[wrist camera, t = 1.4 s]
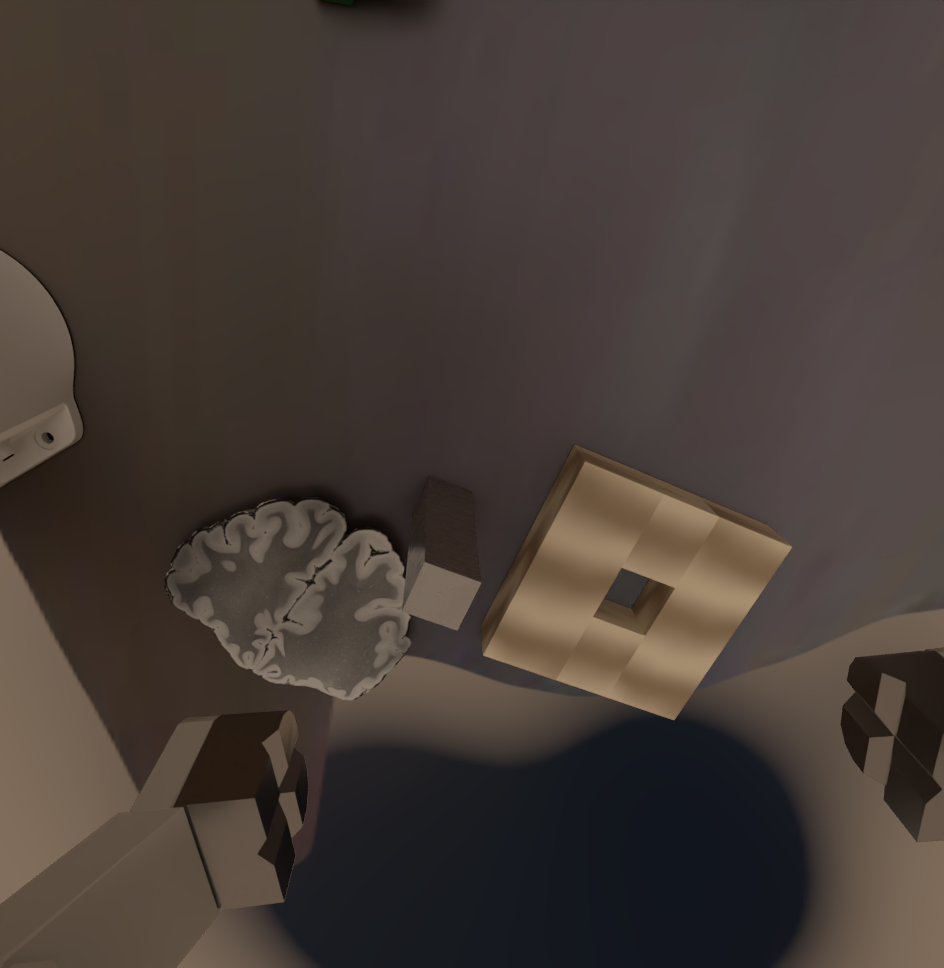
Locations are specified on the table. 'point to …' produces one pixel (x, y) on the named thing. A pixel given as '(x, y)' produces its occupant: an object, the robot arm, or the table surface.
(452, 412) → the table surface
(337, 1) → the clamp
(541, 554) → the socket block
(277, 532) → the brain slice
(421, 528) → the square bit
